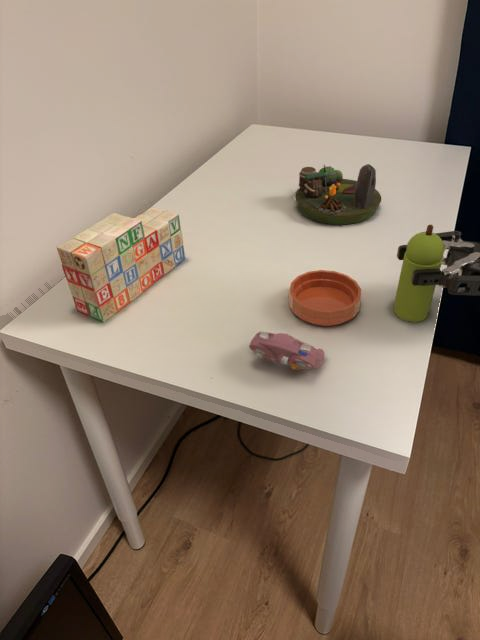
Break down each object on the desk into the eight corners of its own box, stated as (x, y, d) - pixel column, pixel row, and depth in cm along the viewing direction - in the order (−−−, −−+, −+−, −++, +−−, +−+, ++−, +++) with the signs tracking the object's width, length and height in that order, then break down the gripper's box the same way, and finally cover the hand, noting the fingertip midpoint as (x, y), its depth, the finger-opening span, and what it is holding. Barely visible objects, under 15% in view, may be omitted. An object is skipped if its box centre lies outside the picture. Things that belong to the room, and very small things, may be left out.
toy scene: (348, 236, 94) (354, 184, 88) (277, 209, 104) (278, 160, 98) (395, 203, 104) (404, 154, 97) (326, 182, 114) (330, 136, 107)
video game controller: (252, 363, 70) (241, 345, 64) (263, 336, 72) (254, 315, 66) (317, 384, 67) (312, 366, 61) (328, 354, 68) (324, 334, 62)
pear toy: (435, 313, 75) (459, 226, 66) (411, 326, 73) (433, 238, 63) (409, 297, 79) (428, 212, 69) (386, 308, 77) (402, 223, 67)
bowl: (373, 310, 76) (376, 294, 74) (319, 337, 72) (321, 321, 70) (327, 278, 84) (328, 262, 81) (275, 301, 79) (275, 285, 77)
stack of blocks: (160, 251, 93) (150, 190, 85) (186, 259, 90) (178, 197, 82) (75, 311, 79) (54, 245, 71) (103, 323, 76) (84, 256, 68)
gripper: (504, 211, 74) (394, 218, 73) (556, 263, 62) (427, 271, 62) (489, 254, 78) (386, 260, 78) (536, 309, 67) (416, 316, 67)
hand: (405, 265), depth 70 cm, fingers open, 6 cm apart
